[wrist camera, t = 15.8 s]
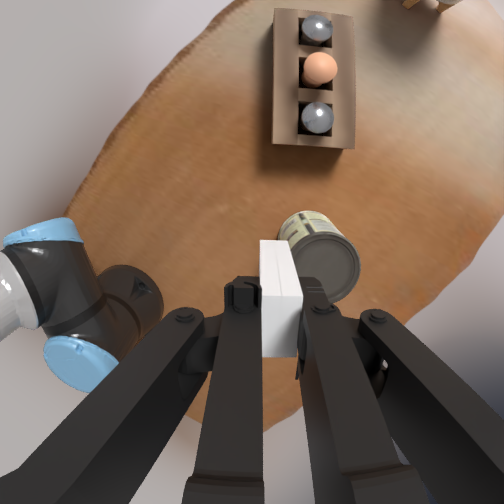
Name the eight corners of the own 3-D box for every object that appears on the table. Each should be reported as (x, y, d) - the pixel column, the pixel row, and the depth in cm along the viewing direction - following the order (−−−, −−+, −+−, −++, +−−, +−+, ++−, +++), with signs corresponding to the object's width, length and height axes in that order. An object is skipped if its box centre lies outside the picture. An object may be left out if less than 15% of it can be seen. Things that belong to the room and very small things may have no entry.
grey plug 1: (296, 52, 41) (302, 38, 34) (296, 30, 40) (302, 13, 33) (323, 55, 41) (333, 41, 34) (323, 32, 40) (332, 16, 33)
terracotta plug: (297, 90, 42) (304, 80, 35) (298, 64, 40) (304, 50, 33) (326, 92, 42) (337, 83, 35) (326, 66, 40) (337, 54, 33)
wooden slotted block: (271, 144, 47) (272, 143, 42) (273, 22, 40) (274, 7, 34) (343, 148, 47) (354, 149, 41) (343, 29, 40) (352, 16, 34)
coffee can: (327, 272, 54) (346, 311, 41) (271, 260, 54) (275, 298, 40) (343, 218, 51) (371, 242, 38) (286, 203, 50) (295, 224, 37)
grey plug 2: (295, 134, 46) (302, 131, 39) (296, 107, 44) (302, 100, 37) (323, 135, 46) (333, 134, 39) (323, 109, 44) (334, 103, 37)
